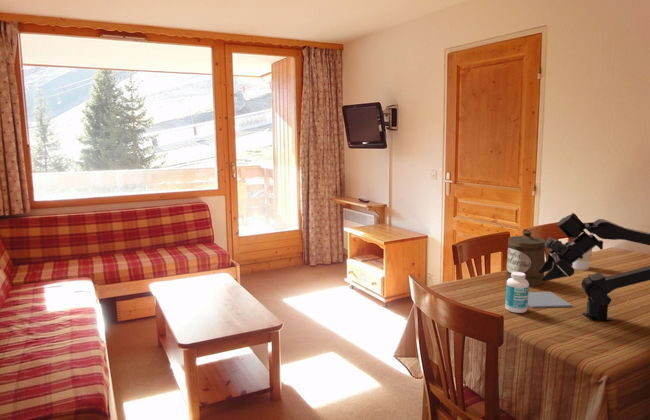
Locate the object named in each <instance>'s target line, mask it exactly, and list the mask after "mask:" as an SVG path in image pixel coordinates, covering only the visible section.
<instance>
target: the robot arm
mask: <svg viewBox="0 0 650 420" xmlns="http://www.w3.org/2000/svg"><path fill="white" fill-rule="evenodd" d="M556 227H557V228H559V229H560V231H561V232H562V233H564V235H566V237H568V239H570V238H571V239H573V238H576V237H577V238H576V239H574V240H573V242H574V243H575V244H574V243H573V242H572V241H567V242H565V243H563V242H562V241H561V240H558V239H555V238H553V237H551V236H547V237H548V238H547V239H546V240H545V244H544V245H545V248H547V249H548V250H547V251H548V252H547V253H546V254H547V259H545V263H544V264H543V266H542V267H541V268H540V270H539V271H538V272H539V273H540V274H541V273H544V277H543V278H542V280H543V282H547V281H551V280H556V279H560V278H567V277H570V278H571V276H573V275H575V268H573V267H572V266H573V264H572V263H574V262H575V261H576V260H578V259H579V258H580V259H582V258H584V257H583V255H584V253H585V254H586V253H587V252H588V251H590V250H591V249H592V250H593V249H594V248H595V247H597V248H598V249H600V250H603V249H604V247H603V245H604V240H610V241H611V240H612V241H617V240H622V241H629V242H633V243H638V244H642V245H646V246H650V232H647V231H642V230H637V229H633V228H628V227H624V226H622V225H619V224H617V223H614V222H612V221H609V220H607V219H605V218H604V219H603V218H598V219H596V220H595V221H593V222H592V221H591V222H583V221H582V220H581V219H580V218H579V217H578V215H577V214H575V213H574V212H572V213H571V214H569V215H567V216H565V217H562V218H561V219H560V220H559V221H558V222H557V223H556ZM585 230H586V231H585ZM587 232H588V233H589V234H588V233H587ZM596 236H597V237H598V238H599V239H598V238H597V237H596ZM600 239H601V240H600ZM582 251H583V252H584V253H583V252H582ZM649 281H650V265H646V266H643V267H642V266H641V267H638V268H636V269H632V270H631V269H630V270H627V271H624V272H620V273H616V274H612V275H604V274H603V273H602V272H601V271H598V272H596V273H594V274H587V276H586V277H585V278H583V279H582V281H581V284H580V285H581V289H582V290H583V292H584V294H585V295H587V296H588V297H587V301H586V302H587V303H586V312H582V315H583V316H584V317H586V318H588V319H589V320H591V321H593V322H599V321H601V322H602V321H603V322H605V321H608V322H609V321H610V322H611V321H612V318H611V317H609V316H608V310H609V305H610V304H611V301H612V298H611V297H610V296H609V294H610V293H611V292H613V291H615V290H617V289H620V288H624V287H629V286H633V285H635V284H636V285H637V284H641V283H644V282H649Z"/></svg>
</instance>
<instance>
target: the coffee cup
mask: <svg viewBox="0 0 650 420" xmlns="http://www.w3.org/2000/svg"><path fill="white" fill-rule="evenodd" d="M576 238H577V237H576ZM576 238H573V237H572V238H571V242H573V240H574V239H576ZM573 243H574V242H573ZM574 244H575V243H574ZM582 252H583V251H582ZM583 253H584V252H583ZM592 253H593V248H592V249H591V250H590V251H588V252H587V253H586V254H585V253H584V255H583V257H584V258H582V259H580V258H579V259H578V260H576V261H575V262H574V263H572V264H573V266H572V267H573V268H574V270H575V269H576V270H582V271H583V270H585V271H587V270H589V268H590V262H591V258H592Z"/></svg>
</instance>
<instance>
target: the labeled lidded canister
mask: <svg viewBox="0 0 650 420" xmlns="http://www.w3.org/2000/svg"><path fill="white" fill-rule="evenodd" d="M531 235H532V231H531V230H527V229H525V230H523V231H522V235H515V236H509V237H508V240H507V257H506V258H507V259H506V273H505V274H506V278H505V279H506V281H507V280H508V279H509V278H512V277H511V273H512V272H522V273H525V275H526V276H525V280H527V281H528V282H529V287H532V286H533V287H534V286H540V285H542V284H543V283H544V281H543V280H542V278H543V277H544V275H545V272H544V273H541V274H540V273H539V272H538V271H539V270H540V268H541V267H542V266H543V264H544V263H545V262H546V258H545V257H546V246H545V245H544V244H545V242H546V240H545V239H543V238H541V237H537V236H531Z"/></svg>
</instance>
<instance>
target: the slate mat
mask: <svg viewBox="0 0 650 420" xmlns="http://www.w3.org/2000/svg"><path fill="white" fill-rule="evenodd" d="M528 307H530V308H531V309H534V308H535V309H536V308H537V309H539V308H541V309H542V308H572V307H573V304H571V303H570V302H567V300H565V299H563V298H561V297H560V296H558V295H557V294H556V293H553V292H551V291H529V292H528Z"/></svg>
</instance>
